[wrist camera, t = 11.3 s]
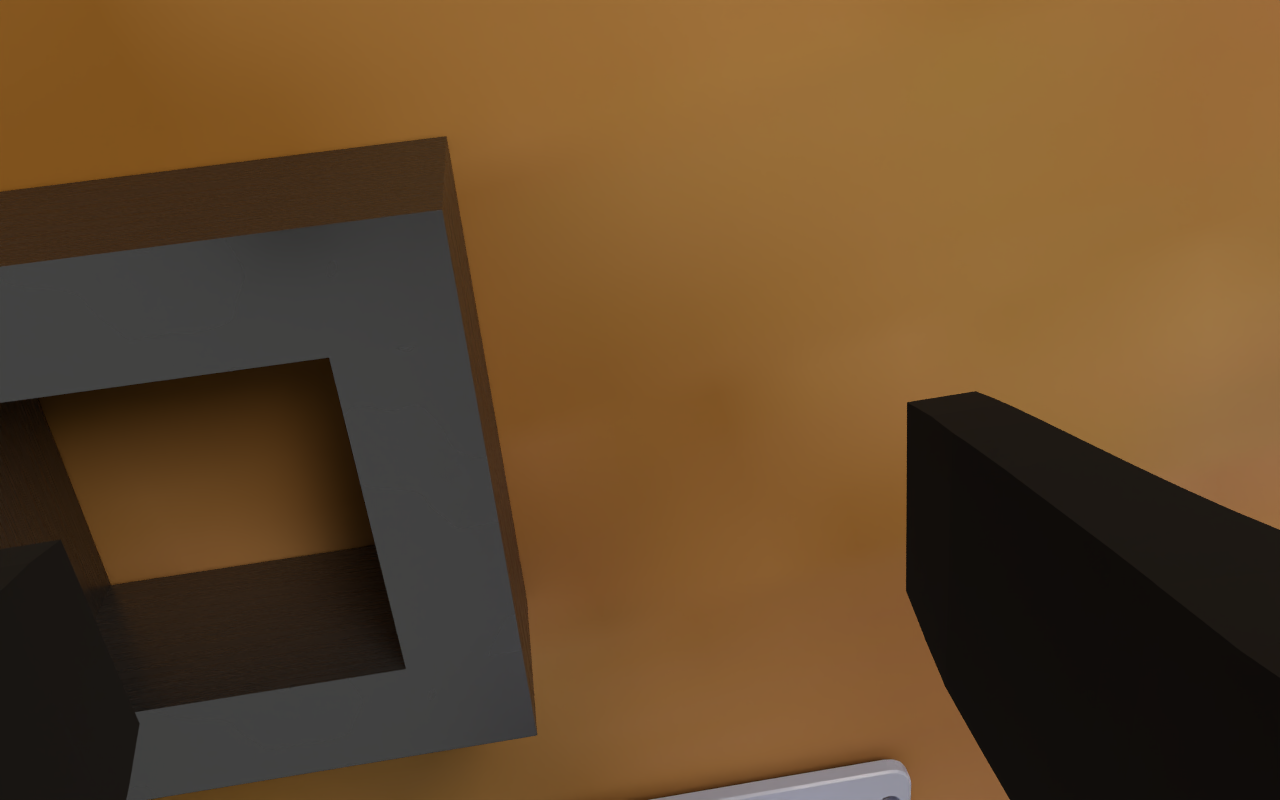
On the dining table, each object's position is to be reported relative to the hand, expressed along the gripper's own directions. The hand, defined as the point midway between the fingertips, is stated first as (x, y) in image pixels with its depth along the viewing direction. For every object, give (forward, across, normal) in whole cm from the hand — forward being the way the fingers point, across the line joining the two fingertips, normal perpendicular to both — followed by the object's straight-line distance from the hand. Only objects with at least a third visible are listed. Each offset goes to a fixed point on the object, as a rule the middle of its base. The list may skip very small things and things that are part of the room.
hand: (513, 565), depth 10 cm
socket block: (+9, +5, +3) cm, 11 cm away
